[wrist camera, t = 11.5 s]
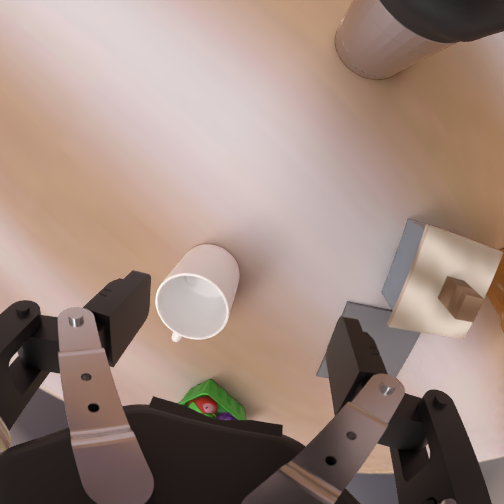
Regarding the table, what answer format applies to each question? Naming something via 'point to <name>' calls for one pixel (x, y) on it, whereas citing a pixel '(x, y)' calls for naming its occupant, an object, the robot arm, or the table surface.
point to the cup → (199, 293)
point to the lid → (445, 284)
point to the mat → (380, 337)
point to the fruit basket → (213, 402)
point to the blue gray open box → (403, 261)
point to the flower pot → (498, 290)
